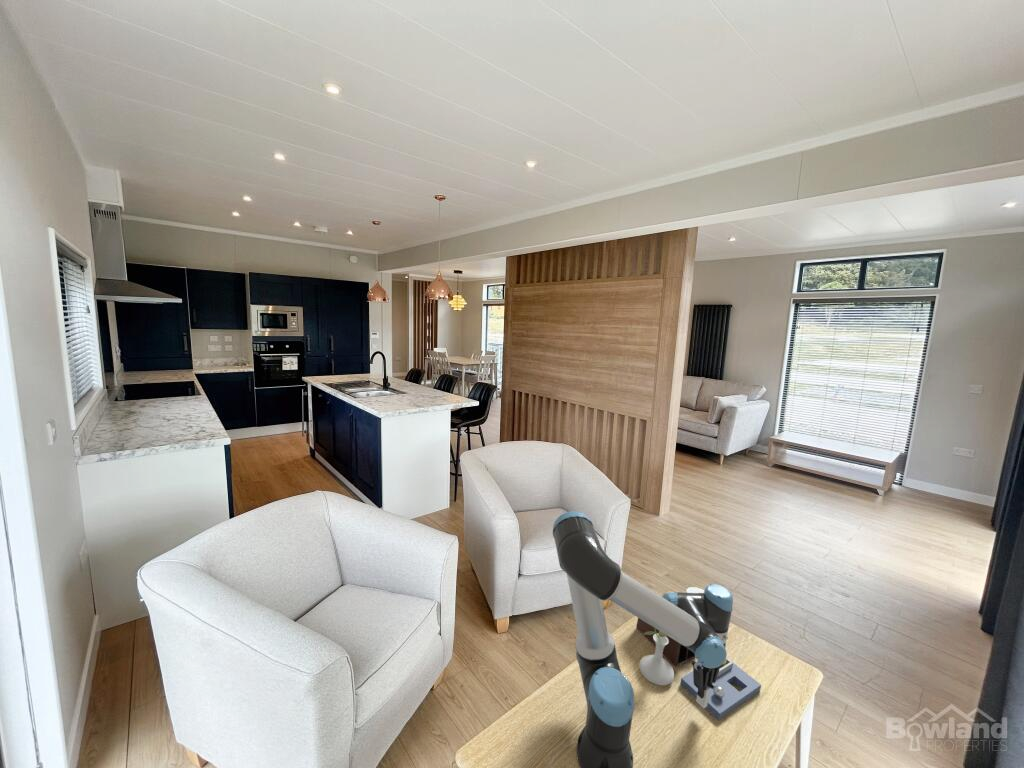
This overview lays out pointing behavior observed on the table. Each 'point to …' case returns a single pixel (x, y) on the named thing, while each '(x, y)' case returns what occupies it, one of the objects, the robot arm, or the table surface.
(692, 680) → the deck
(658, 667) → the flower in vase
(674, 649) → the letter holder
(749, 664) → the table surface
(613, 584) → the robot arm
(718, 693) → the steel ball
